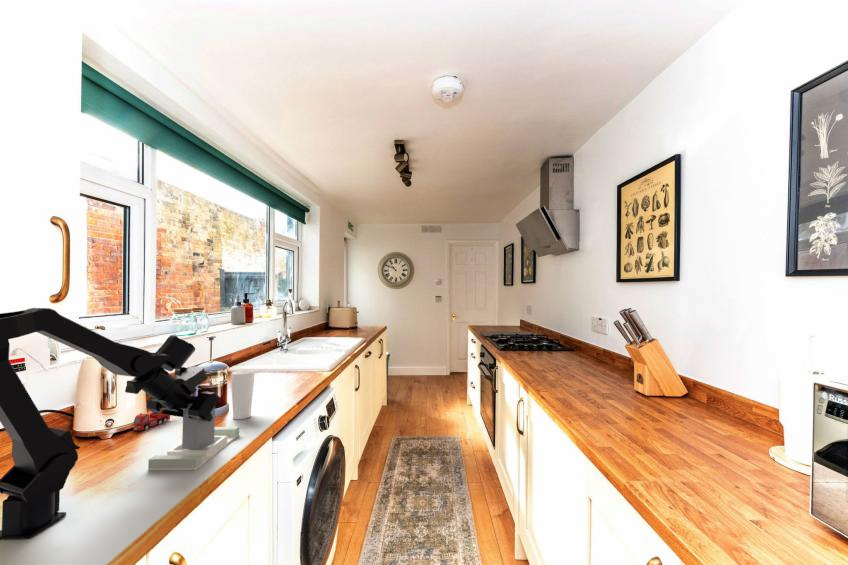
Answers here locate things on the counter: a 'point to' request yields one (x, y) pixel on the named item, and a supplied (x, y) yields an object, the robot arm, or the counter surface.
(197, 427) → the tall grey pillar block
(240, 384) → the drinking glass
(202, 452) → the tray
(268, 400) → the counter surface
